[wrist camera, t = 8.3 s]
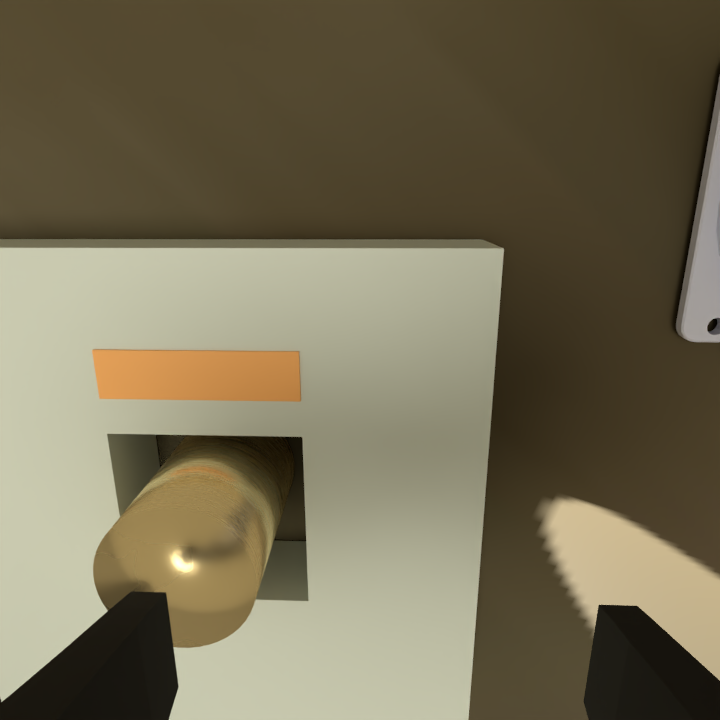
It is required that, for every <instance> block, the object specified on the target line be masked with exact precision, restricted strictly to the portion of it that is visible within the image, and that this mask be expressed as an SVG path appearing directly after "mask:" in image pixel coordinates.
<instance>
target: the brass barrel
mask: <svg viewBox="0 0 720 720" xmlns="http://www.w3.org/2000/svg"><path fill="white" fill-rule="evenodd" d="M294 469H295V465H294V457H293V453H292V450H291V447H290V445H289V443H288V442H287V440H286V439H285V437H279V436H218V435H187V436H186V437H185V438H184V439H183V441H182V442H181V443H180V444H179V446H178V447H177V448H176V449H175V450H174V452H173V453H172V454H171V455H170V457H169V458H168V459H167V460H166V461H165V463H164V464H163V465H162V466H161V468H160V469H159V470H158V471H157V472H156V474H155V475H154V476H153V477H152V479H151V480H150V481H149V482H148V484H147V485H146V486H145V487H144V488H143V490H142V491H141V492H140V493H139V495H138V496H137V497H136V498H135V499H134V501H133V502H132V503H131V504H130V506H129V507H128V508H127V509H126V510H125V512H124V513H123V514H122V515H121V517H120V518H119V519H118V520H117V521H116V523H115V524H114V525H113V526H112V528H111V529H110V530H109V531H108V532H107V534H106V535H105V536H104V538H103V539H102V541H101V542H100V544H99V546H98V548H97V550H96V554H95V557H94V563H93V578H94V583H95V587H96V590H97V593H98V595H99V597H100V599H101V601H102V603H103V605H104V606H105V607H106V609H107V610H110V609H111V608H112V607H113V606H114V605H115V604H117V603H118V602H119V601H120V600H121V599H123V598H124V597H125V596H126V595H127V594H129V593H130V592H131V591H135V592H166V595H167V602H168V610H169V617H170V625H171V632H172V640H173V647H177V648H193V647H201V646H206V645H210V644H213V643H216V642H218V641H221V640H223V639H225V638H227V637H228V636H230V635H231V634H233V633H234V632H235V631H236V630H238V629H239V628H240V627H241V626H242V625H243V623H244V622H245V621H246V620H247V618H248V616H249V615H250V613H251V611H252V608H253V606H254V603H255V600H256V597H257V593H258V590H259V587H260V584H261V580H262V577H263V574H264V571H265V568H266V564H267V561H268V558H269V555H270V551H271V548H272V545H273V542H274V539H275V535H276V532H277V529H278V526H279V522H280V519H281V516H282V513H283V510H284V506H285V503H286V500H287V497H288V493H289V490H290V487H291V484H292V481H293V476H294Z"/></svg>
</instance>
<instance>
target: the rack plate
mask: <svg viewBox="0 0 720 720" xmlns="http://www.w3.org/2000/svg"><path fill="white" fill-rule="evenodd" d="M503 255H504V248H502V247H499V246H497V245H494V244H492V243H490V242H487V241H485V240H482V239H0V699H1V702H2V701H3V700H5V699H6V698H7V697H8V696H10V695H11V694H12V693H13V692H14V691H16V690H17V689H18V688H19V687H20V686H21V685H23V684H24V683H25V682H26V681H27V680H29V679H30V678H31V677H32V676H33V675H34V674H36V673H37V672H38V671H39V670H40V669H41V668H43V667H44V666H45V665H46V664H47V663H49V662H50V661H51V660H52V659H53V658H54V657H56V656H57V655H58V654H59V653H60V652H61V651H63V650H64V649H65V648H66V647H67V646H68V645H70V644H71V643H72V642H73V641H74V640H75V639H76V638H78V637H79V636H80V635H81V634H82V633H83V632H84V631H86V630H87V629H88V628H89V627H90V626H91V625H92V624H94V623H95V622H96V621H97V620H98V619H99V618H100V617H102V616H103V615H104V614H105V613H106V612H107V611H108V610H107V609H106V607H105V606H104V605H103V603H102V601H101V599H100V597H99V595H98V593H97V590H96V587H95V583H94V578H93V563H94V557H95V554H96V550H97V548H98V546H99V544H100V542H101V541H102V539H103V538H104V536H105V535H106V534H107V532H108V531H109V530H110V529H111V528H112V526H113V525H114V524H115V523H116V521H117V520H118V519H119V518H120V517H121V515H122V514H123V513H124V512H125V510H126V509H127V508H128V507H129V506H130V504H131V503H132V502H133V501H134V499H135V498H136V497H137V496H138V495H139V493H140V492H141V491H142V490H143V488H144V487H145V486H146V485H147V484H148V482H149V481H150V480H151V479H152V477H153V476H154V475H155V474H156V472H157V471H158V470H159V469H160V463H159V455H158V447H157V439H156V435H218V436H279V437H302V439H303V466H304V493H305V520H306V541H277V540H274V542H273V545H272V548H271V551H270V555H269V558H268V561H267V564H266V568H265V571H264V574H263V577H262V580H261V584H260V587H259V590H258V593H257V597H256V600H255V603H254V606H253V608H252V611H251V613H250V615H249V616H248V618H247V620H246V621H245V622H244V623H243V625H242V626H241V627H240V628H239V629H238V630H236V631H235V632H234V633H233V634H231V635H230V636H228V637H227V638H225V639H223V640H221V641H218V642H216V643H213V644H210V645H206V646H201V647H193V648H177V647H173V648H174V655H175V663H176V670H177V678H178V686H179V687H178V690H177V694H176V697H175V700H174V704H173V707H172V710H171V714H170V717H169V720H468V717H469V704H470V690H471V677H472V664H473V651H474V638H475V624H476V611H477V598H478V585H479V572H480V558H481V545H482V532H483V519H484V506H485V492H486V479H487V466H488V453H489V440H490V426H491V413H492V400H493V387H494V373H495V360H496V347H497V334H498V321H499V307H500V294H501V281H502V268H503Z"/></svg>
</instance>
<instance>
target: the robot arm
mask: <svg viewBox="0 0 720 720" xmlns="http://www.w3.org/2000/svg"><path fill="white" fill-rule="evenodd" d="M715 318H717V323H718V324H717V326H716V328H715V329H713V330H712V331H709V332H708V331H707V326H708V323H709V322H710V321H711V320H712V319H715ZM676 330H677V332H678V334H679V335H680V336H681V337H682V338H684V339H686V340H688V341H692V342H720V76H719V82H718V88H717V93H716V99H715V105H714V110H713V116H712V122H711V127H710V133H709V139H708V145H707V150H706V156H705V162H704V167H703V173H702V179H701V184H700V190H699V196H698V201H697V207H696V213H695V218H694V224H693V230H692V235H691V241H690V247H689V252H688V258H687V264H686V269H685V275H684V281H683V286H682V292H681V298H680V304H679V309H678V315H677V321H676ZM178 687H179V686H178V678H177V670H176V663H175V655H174V648H173V640H172V632H171V625H170V617H169V610H168V602H167V595H166V592H135V591H131V592H130V593H129V594H127V595H126V596H125V597H124V598H123V599H121V600H120V601H119V602H118V603H117V604H115V605H114V606H113V607H112V608H111V609H110V610H108V611H107V612H106V613H105V614H104V615H103V616H102V617H100V618H99V619H98V620H97V621H96V622H95V623H94V624H92V625H91V626H90V627H89V628H88V629H87V630H86V631H84V632H83V633H82V634H81V635H80V636H79V637H78V638H76V639H75V640H74V641H73V642H72V643H71V644H70V645H68V646H67V647H66V648H65V649H64V650H63V651H61V652H60V653H59V654H58V655H57V656H56V657H54V658H53V659H52V660H51V661H50V662H49V663H47V664H46V665H45V666H44V667H43V668H41V669H40V670H39V671H38V672H37V673H36V674H34V675H33V676H32V677H31V678H30V679H29V680H27V681H26V682H25V683H24V684H23V685H21V686H20V687H19V688H18V689H17V690H16V691H14V692H13V693H12V694H11V695H10V696H8V697H7V698H6V699H5V700H3V701H2V702H1V703H0V720H169V717H170V714H171V710H172V707H173V704H174V700H175V697H176V694H177V690H178ZM584 704H585V708H586V711H587V715H588V718H589V720H720V681H719V680H718V679H717V678H716V677H715V676H714V675H713V674H712V673H710V671H708V670H707V669H706V668H705V667H704V666H703V665H702V664H701V663H699V661H697V660H696V659H695V658H694V657H693V656H692V655H691V654H690V653H689V652H688V651H686V650H685V649H684V648H683V647H682V646H681V645H680V644H679V643H678V642H677V641H675V640H674V639H673V638H672V637H671V636H670V635H669V634H668V633H667V632H666V631H665V630H663V629H662V628H661V627H660V626H659V625H658V624H657V623H656V622H655V621H654V620H652V619H651V618H650V617H649V616H648V615H647V614H646V613H645V612H643V611H642V610H641V609H640V608H639V607H638V606H620V605H599V608H598V613H597V620H596V626H595V633H594V639H593V645H592V652H591V658H590V664H589V671H588V677H587V683H586V690H585V696H584Z"/></svg>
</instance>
